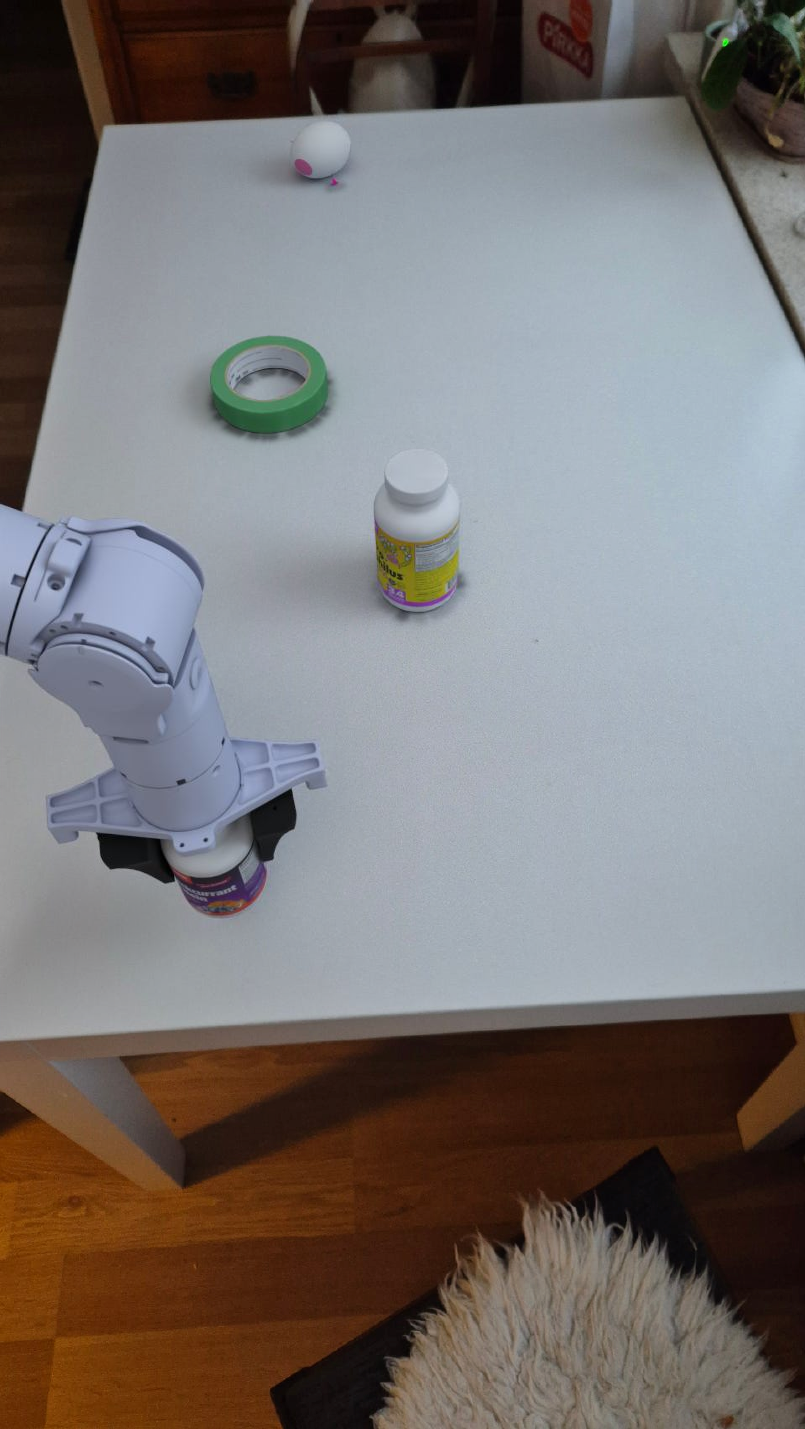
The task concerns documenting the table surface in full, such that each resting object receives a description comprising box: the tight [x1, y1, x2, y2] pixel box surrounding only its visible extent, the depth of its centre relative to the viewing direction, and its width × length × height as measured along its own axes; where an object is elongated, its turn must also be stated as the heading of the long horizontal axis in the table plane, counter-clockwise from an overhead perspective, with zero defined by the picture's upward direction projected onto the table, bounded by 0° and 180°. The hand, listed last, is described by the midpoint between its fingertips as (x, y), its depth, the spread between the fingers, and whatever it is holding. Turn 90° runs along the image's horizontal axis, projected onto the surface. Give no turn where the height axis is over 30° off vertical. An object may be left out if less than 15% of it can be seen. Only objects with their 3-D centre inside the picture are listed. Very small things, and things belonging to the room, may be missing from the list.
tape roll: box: [209, 335, 329, 434], centre depth 97 cm, size 11×11×3 cm
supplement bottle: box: [373, 448, 461, 613], centre depth 79 cm, size 7×7×13 cm
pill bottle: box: [160, 812, 268, 919], centre depth 59 cm, size 5×5×10 cm
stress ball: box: [289, 120, 352, 186], centre depth 118 cm, size 8×8×7 cm
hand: (216, 857), depth 61 cm, fingers closed on pill bottle, 5 cm apart
